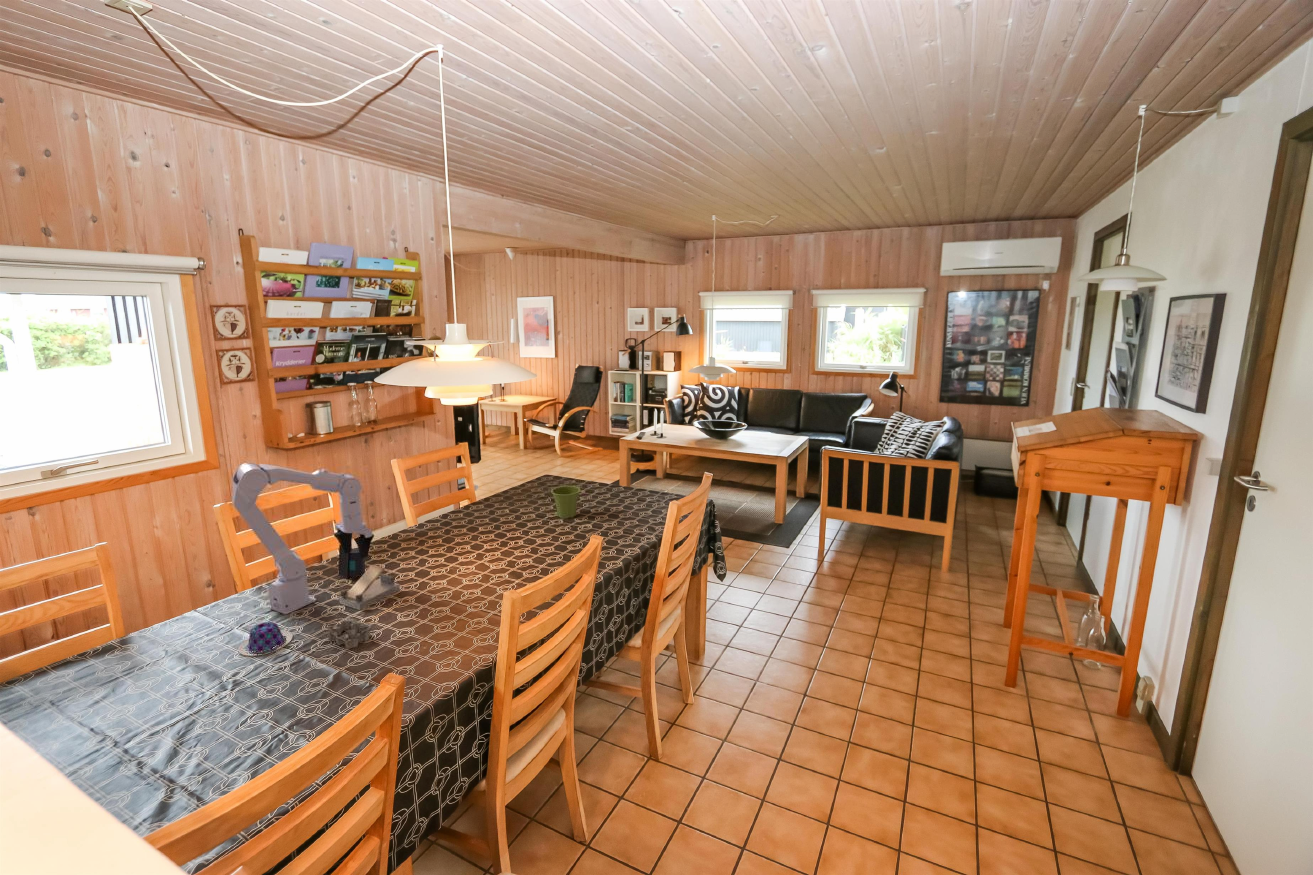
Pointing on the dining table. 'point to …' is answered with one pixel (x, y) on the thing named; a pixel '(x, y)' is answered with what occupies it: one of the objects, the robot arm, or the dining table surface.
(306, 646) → the dining table surface
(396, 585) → the block
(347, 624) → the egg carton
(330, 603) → the dining table surface
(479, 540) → the dining table surface
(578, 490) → the plant pot
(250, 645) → the purple beige domed disc
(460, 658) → the dining table surface
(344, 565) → the speaker
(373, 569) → the latch bar
